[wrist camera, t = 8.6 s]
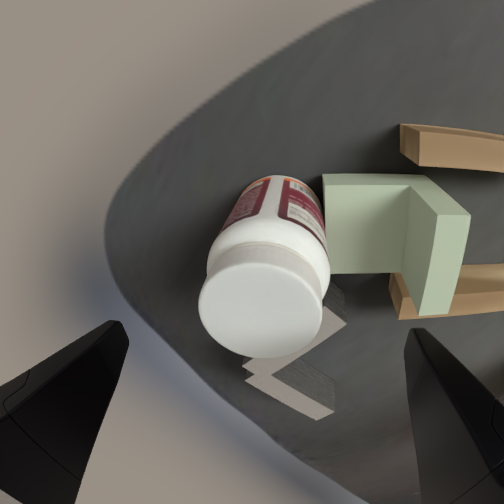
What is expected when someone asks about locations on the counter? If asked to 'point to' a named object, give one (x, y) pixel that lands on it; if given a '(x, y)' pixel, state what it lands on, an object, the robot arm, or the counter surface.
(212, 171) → the counter surface
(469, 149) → the channel
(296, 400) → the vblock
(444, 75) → the counter surface
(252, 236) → the pill bottle
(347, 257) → the block
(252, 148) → the counter surface
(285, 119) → the counter surface
